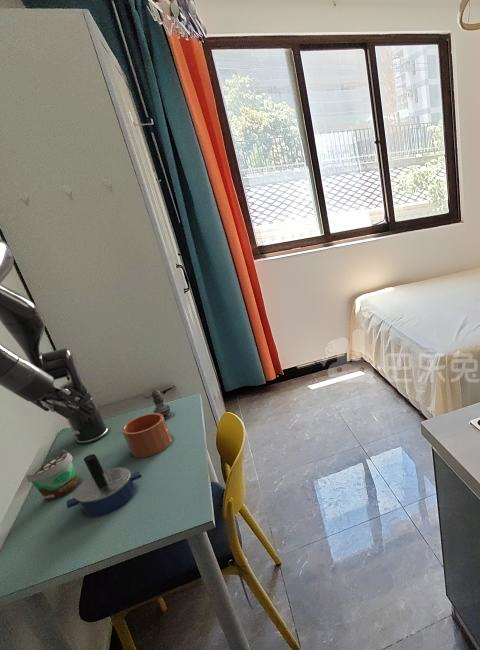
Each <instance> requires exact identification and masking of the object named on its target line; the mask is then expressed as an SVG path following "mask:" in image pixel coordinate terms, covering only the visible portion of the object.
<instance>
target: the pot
mask: <svg viewBox="0 0 480 650" xmlns="http://www.w3.org/2000/svg"><path fill="white" fill-rule="evenodd" d="M121 432H122V435H123V437H124V439H125V441H126V444H127V446H128V448H129V450H130V453H131V455H132V456H133V457H134V458H135V457H136V458H147V457H151V456H154V455H157V454H158V453H160V452H162V451H164V450H166V448H168V447H169V446H170V445H171V443H172V441H173V437H172V435H171V432H170V429H169V427H168V425H167V422H166V420H164V417H163V415H162V414H159V413H154V412H151V413H146V414H142V415H139V416H136V417H135V418H133V419H131V420H129V421H128V422H127V423H125V424H124V425H123V427H122V428H121Z"/></svg>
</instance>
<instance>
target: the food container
mask: <svg viewBox="0 0 480 650" xmlns="http://www.w3.org/2000/svg"><path fill="white" fill-rule="evenodd" d="M26 476H27V477H26V479H27V482H29V483H32V484H33V486H34V488H35V489H37V491H38V492H39V493H40V494H41V496H42V498H44V500H45V501H52V500H55V499H58V498H62V497H64V496H65V495H68V494H70V493H71V492H72V491H74V490H75V489H77V488H78V486H79V483H80V481H79V478H78V475H77V473H76V470H75V467H74V465H73V455H72V454H71V453H70V452H68V451H67V450H65V449H61V453H60V454H59V455H58V456H56V457H55V458H53V459H51V460H49V461H47V462H46V463H44V464H43V465H42V466H41V467H40V468H39V469H38V470H36V471H35V472H34V473H32V474H26Z"/></svg>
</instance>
